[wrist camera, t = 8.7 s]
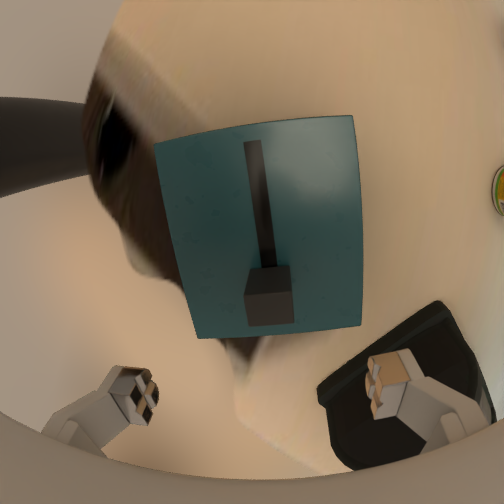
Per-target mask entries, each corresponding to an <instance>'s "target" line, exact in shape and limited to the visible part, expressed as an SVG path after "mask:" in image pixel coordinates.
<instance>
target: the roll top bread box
mask: <svg viewBox="0 0 504 504" xmlns="http://www.w3.org/2000/svg"><path fill="white" fill-rule="evenodd" d="M407 348H408V349H409V350H410V351H411V353H412V354H413V356H414V358H415V360H416V361H417V363H418V365H419V367H420V369H421V371H422V372H423V374H424V376H425V377H428V376H429V377H431V378H433V379H434V380H436V381H438V382H440V383H442V384H444V385H446V386H448V387H449V388H451V389H453V390H455V391H457V392H459V393H461V394H463V395H465V396H467V397H469V398H471V399H472V400H474V401H476V402H477V404H478V405H479V407H480V409H481V411H482V413H483V414H484V416H485V418H486V420H487V422H488V424H489V426H490V425H492V424H494V423H495V422H497V419H496V412H495V409H494V406H493V403H492V400H491V397H490V394H489V391H488V388H487V385H486V382H485V380H484V377H483V374H482V372H481V369H480V367H479V364H478V362H477V359H476V357H475V355H474V353H473V351H472V350H471V348H470V347H469V346H468V344H467V343H466V341H465V340H464V338H463V336H462V334H461V332H460V330H459V328H458V326H457V324H456V322H455V320H454V318H453V316H452V314H451V312H450V310H449V309H448V308H447V307H446V306H445V305H444V304H443V302H441V301H435V302H433V303H431V304H430V305H428V306H426V307H425V308H423V309H421V310H420V311H418V312H417V313H416V314H414V315H413V316H411V317H410V318H409V319H407V320H406V321H404V322H403V323H401V324H400V325H398V326H397V327H396V328H394V329H393V330H392V331H390V332H389V333H388V334H386V335H385V336H383V337H382V338H381V339H379V340H378V341H376V342H375V343H373V344H372V345H371V346H369V347H368V348H367V349H365V350H364V351H363V352H361V353H360V354H359V355H357V356H356V357H354V358H353V359H352V360H350V361H349V362H347V363H346V364H345V365H343V366H342V367H341V368H340V369H338V370H337V371H336V372H334V373H333V374H332V375H330V376H329V377H328V378H327V379H326V380H324V381H323V382H322V383H321V384H320V385H319V386H318V387H317V395H318V402H319V404H320V405H322V406H323V407H324V408H326V413H327V420H328V427H329V435H330V442H331V447H332V449H333V451H334V453H335V455H336V456H337V457H338V459H339V460H340V461H341V462H342V463H343V464H344V465H345V466H347V467H349V468H350V469H352V470H354V471H357V470H362V469H367V468H372V467H376V466H380V465H385V464H389V463H392V462H396V461H400V460H403V459H407V458H410V457H413V456H417V455H419V454H420V453H421V451H422V449H423V448H424V446H425V444H426V443H427V441H425V440H424V439H423V438H422V437H421V436H419V435H418V434H417V433H416V432H414V431H413V430H412V429H411V428H410V427H409V426H407V425H406V424H405V423H404V422H403V421H401V420H400V419H399V418H398V417H397V415H396V416H391V417H387V418H382V419H376V420H374V416H373V413H372V409H371V402H372V400H371V399H370V398H368V396H367V392H366V384H365V379H366V373H367V372H368V371H369V368H368V365H367V364H368V359H369V357H370V356H375V355H380V354H385V353H390V352H395V351H399V350H403V349H407Z"/></svg>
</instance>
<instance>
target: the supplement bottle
mask: <svg viewBox="0 0 504 504" xmlns="http://www.w3.org/2000/svg"><path fill="white" fill-rule="evenodd" d="M493 201H494V205H495V207H496V209H497V211H498V212H499V213H500V214H501V215H502V216H504V166H503V167H502V168H500V170H499V171H498V172H497V174H496V176H495V178H494V182H493Z"/></svg>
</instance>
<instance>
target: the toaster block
mask: <svg viewBox="0 0 504 504" xmlns="http://www.w3.org/2000/svg"><path fill="white" fill-rule="evenodd" d="M154 151H155V157H156V163H157V169H158V175H159V180H160V185H161V191H162V196H163V201H164V206H165V211H166V216H167V221H168V225H169V230H170V234H171V239H172V243H173V248H174V252H175V256H176V260H177V264H178V268H179V272H180V276H181V280H182V284H183V288H184V292H185V296H186V299H187V303H188V307H189V310H190V314H191V317H192V320H193V324H194V328H195V331H196V334H197V338H198V339H205V338H206V339H208V338H235V337H254V336H268V335H281V334H293V333H303V332H313V331H322V330H331V329H339V328H346V327H354V326H360V325H361V320H362V300H363V220H362V200H361V185H360V173H359V162H358V152H357V143H356V135H355V128H354V120H353V116H352V115H341V116H322V117H309V118H297V119H287V120H278V121H270V122H262V123H255V124H248V125H241V126H235V127H229V128H224V129H218V130H213V131H208V132H203V133H198V134H193V135H188V136H184V137H180V138H175V139H171V140H167V141H163V142H159V143H155V144H154ZM278 266H290V273H291V283H292V294H293V308H294V323H293V324H282V325H269V326H256V327H249V326H248V321H247V315H246V310H245V304H244V299H243V295H244V291H245V287H246V283H247V279H248V275H249V271H250V269H258V268H268V267H278Z"/></svg>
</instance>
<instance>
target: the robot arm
mask: <svg viewBox="0 0 504 504" xmlns="http://www.w3.org/2000/svg"><path fill="white" fill-rule="evenodd" d="M367 365H368V368H369V371H368V372H367V373H366V379H365V384H366V392H367V396H368V398H370V399H371V400H372V402H371V409H372V413H373V416H374V420H376V419H382V418H387V417H391V416H396V415H397V417H398V418H399V419H400V420H401V421H403V422H404V423H405V424H406V425H407V426H409V427H410V428H411V429H412V430H413V431H414V432H416V433H417V434H418V435H419V436H421V437H422V438H423V439H424V440H425V441H427V443H426V444H425V446H424V448H423V449H422V451H421V453H420V454H419V455H417V456H413V457H410V458H407V459H403V460H400V461H396V462H392V463H389V464H385V465H380V466H376V467H372V468H367V469H362V470H357V471H351V472H346V473H339V474H332V475H325V476H316V477H306V478H293V479H269V480H248V479H224V478H211V477H200V476H191V475H183V474H177V473H171V472H165V471H160V470H154V469H149V468H144V467H140V466H135V465H131V464H128V463H124V462H120V461H116V460H113V459H109V458H107V456H106V455H105V454H104V453H103V452H102V451H101V450H100V449H101V448H102V447H104V446H105V445H106V444H107V443H108V442H110V441H111V440H112V439H113V438H114V437H116V436H117V435H118V434H119V433H120V432H122V431H123V430H124V429H125V428H126V427H127V426H129V423H130V424H137V425H146V426H148V424H149V422H150V420H151V417H152V415H153V412H152V410H151V409H152V408H154V407H155V406H156V405H157V403H158V400H159V391H158V387H157V385H156V383H154V382H153V381H152V380H151V377H152V375H151V373H150V371H149V370H148V369H145V368H135V367H127V366H125V367H124V366H117V365H116V366H114V367H112V369H111V370H110V372H109V373H108V375H107V376H106V378H105V379H104V381H103V383H102V384H101V385H100V387H99V388H98V390H97V391H92V392H91V393H89V394H87V395H86V396H84V397H82V398H80V399H78V400H77V401H75V402H73V403H72V404H70V405H68V406H66V407H64V408H62V409H61V410H59V411H57V412H55V413H54V414H53V415H52V417H51V418H50V420H49V421H48V422H47V424H46V425H45V427H44V429H43V430H42V432H41V433H40V432H38V431H36V430H34V429H32V428H30V427H27V426H26V425H23V424H22V423H20V422H18V421H16V420H14V419H12V418H10V417H9V416H7V415H5V414H3V413H2V412H0V504H504V418H503V419H501V420H499V421H497V422H495V423H494V424H492V425H490V426H489V424H488V422H487V420H486V418H485V416H484V414H483V413H482V411H481V409H480V407H479V405H478V404H477V402H476V401H474V400H472V399H471V398H469V397H467V396H465V395H463V394H461V393H459V392H457V391H455V390H453V389H451V388H449V387H448V386H446V385H444V384H442V383H440V382H438V381H436V380H434V379H433V378H431V377H429V376H428V377H425V376H424V374H423V372H422V371H421V369H420V367H419V365H418V363H417V361H416V360H415V358H414V356H413V354H412V353H411V351H410V350H409V349H408V348H407V349H403V350H399V351H395V352H390V353H385V354H380V355H375V356H370V357H369V359H368V364H367Z"/></svg>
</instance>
